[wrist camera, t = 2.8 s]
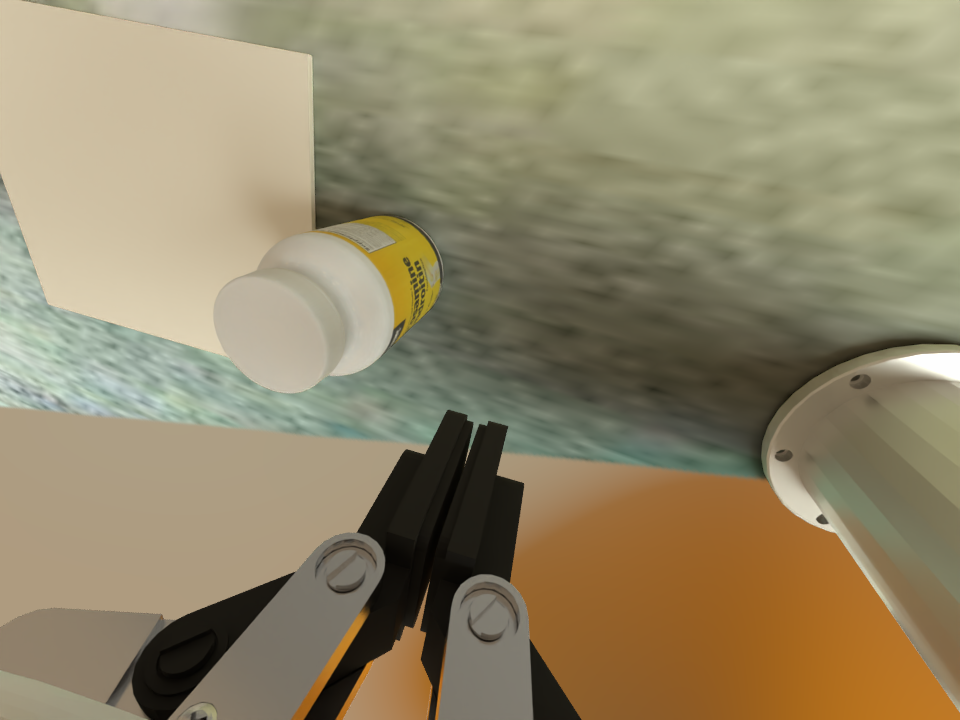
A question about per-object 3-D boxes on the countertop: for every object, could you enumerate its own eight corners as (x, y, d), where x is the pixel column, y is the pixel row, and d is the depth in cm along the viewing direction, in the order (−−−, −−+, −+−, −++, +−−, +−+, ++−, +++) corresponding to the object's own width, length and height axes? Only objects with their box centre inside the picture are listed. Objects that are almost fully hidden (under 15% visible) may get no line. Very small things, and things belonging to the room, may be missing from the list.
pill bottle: (413, 336, 27) (308, 443, 16) (333, 274, 26) (173, 346, 16) (467, 259, 23) (381, 333, 13) (379, 187, 23) (216, 207, 13)
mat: (312, 56, 21) (307, 54, 20) (318, 380, 30) (315, 382, 30) (-59, -14, 23) (-69, -17, 23) (53, 302, 33) (48, 304, 32)
